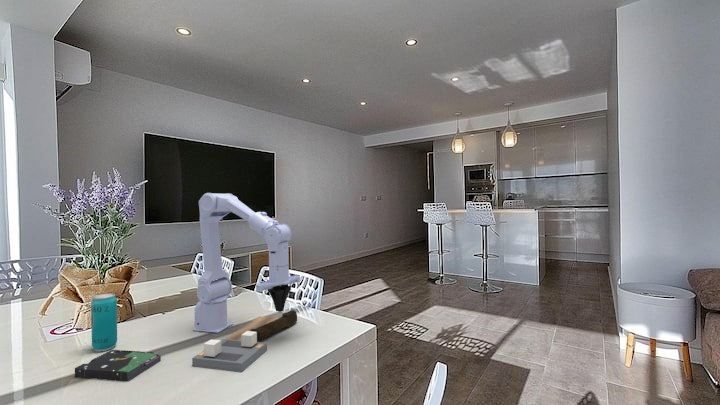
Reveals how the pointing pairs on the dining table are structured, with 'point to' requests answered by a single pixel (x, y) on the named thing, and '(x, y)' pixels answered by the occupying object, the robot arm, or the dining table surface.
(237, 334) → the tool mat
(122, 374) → the disk drive
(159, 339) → the dining table surface
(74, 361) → the dining table surface
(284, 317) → the dark brown log
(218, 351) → the white cube
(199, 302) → the robot arm
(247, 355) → the grey flat block
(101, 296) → the beverage can
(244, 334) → the switch tab
